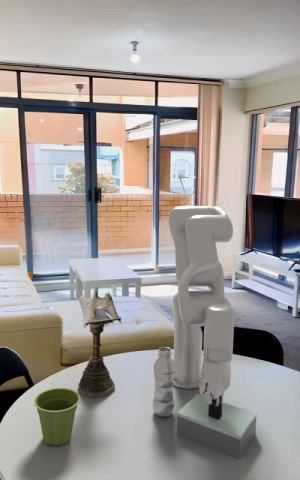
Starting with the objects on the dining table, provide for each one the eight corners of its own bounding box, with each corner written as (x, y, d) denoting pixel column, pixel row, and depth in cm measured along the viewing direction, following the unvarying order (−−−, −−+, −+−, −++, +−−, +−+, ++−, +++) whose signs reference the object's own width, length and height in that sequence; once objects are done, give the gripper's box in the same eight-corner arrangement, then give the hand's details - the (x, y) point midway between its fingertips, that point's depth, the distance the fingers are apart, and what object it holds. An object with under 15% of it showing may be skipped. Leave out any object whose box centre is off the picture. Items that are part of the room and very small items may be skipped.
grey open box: (176, 433, 114) (177, 416, 114) (196, 413, 124) (197, 397, 124) (238, 458, 105) (240, 440, 104) (255, 434, 115) (256, 417, 114)
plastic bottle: (159, 422, 119) (161, 356, 116) (148, 410, 125) (149, 347, 122) (178, 416, 122) (180, 352, 119) (166, 405, 128) (168, 343, 125)
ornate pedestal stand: (127, 401, 130) (129, 292, 124) (86, 408, 125) (85, 296, 120) (113, 377, 145) (114, 279, 140) (76, 382, 141) (75, 281, 135)
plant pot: (58, 458, 103) (57, 416, 101) (25, 441, 109) (24, 402, 108) (89, 434, 113) (89, 395, 111) (57, 420, 119) (56, 383, 118)
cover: (177, 415, 114) (177, 412, 113) (197, 396, 123) (197, 393, 123) (240, 439, 104) (240, 436, 104) (256, 417, 114) (256, 413, 114)
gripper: (216, 339, 117) (214, 400, 120) (191, 357, 105) (189, 425, 108) (242, 346, 113) (238, 408, 116) (219, 365, 101) (215, 435, 104)
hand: (214, 416), depth 112 cm, fingers closed
